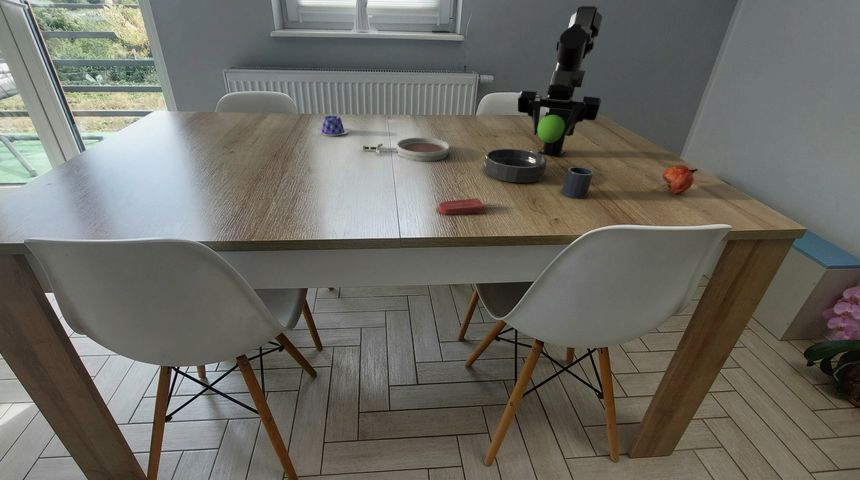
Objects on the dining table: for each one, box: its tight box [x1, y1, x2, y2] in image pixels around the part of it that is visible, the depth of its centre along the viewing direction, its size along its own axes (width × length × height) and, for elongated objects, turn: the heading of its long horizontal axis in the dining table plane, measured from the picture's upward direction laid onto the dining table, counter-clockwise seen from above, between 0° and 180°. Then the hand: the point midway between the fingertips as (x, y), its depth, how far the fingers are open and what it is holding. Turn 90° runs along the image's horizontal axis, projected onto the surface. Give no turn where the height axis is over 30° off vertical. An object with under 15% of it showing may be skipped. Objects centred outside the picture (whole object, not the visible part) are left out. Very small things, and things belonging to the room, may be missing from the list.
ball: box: [536, 115, 565, 143], centre depth 99 cm, size 6×6×6 cm
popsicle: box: [437, 198, 502, 216], centre depth 93 cm, size 4×2×15 cm
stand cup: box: [561, 166, 595, 200], centre depth 100 cm, size 6×6×6 cm
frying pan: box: [360, 137, 451, 162], centre depth 127 cm, size 17×3×28 cm
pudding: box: [315, 115, 351, 137], centre depth 144 cm, size 12×12×5 cm
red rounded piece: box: [652, 164, 698, 195], centre depth 102 cm, size 7×7×10 cm
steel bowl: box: [482, 148, 548, 184], centre depth 112 cm, size 16×16×4 cm
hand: (548, 135), depth 99 cm, fingers closed on ball, 6 cm apart
